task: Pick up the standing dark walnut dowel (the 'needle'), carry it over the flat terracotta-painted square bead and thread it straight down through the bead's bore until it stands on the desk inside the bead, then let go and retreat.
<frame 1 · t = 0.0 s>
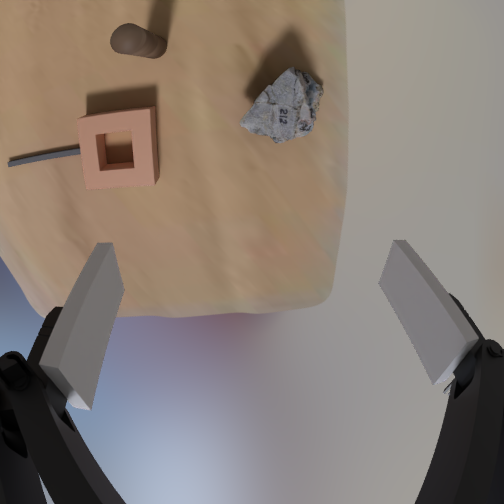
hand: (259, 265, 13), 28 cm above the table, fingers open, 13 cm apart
dowel: (155, 47, 28), on the table
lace: (45, 156, 34), on the table
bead: (121, 145, 35), on the table
mineral specimen: (280, 104, 35), on the table
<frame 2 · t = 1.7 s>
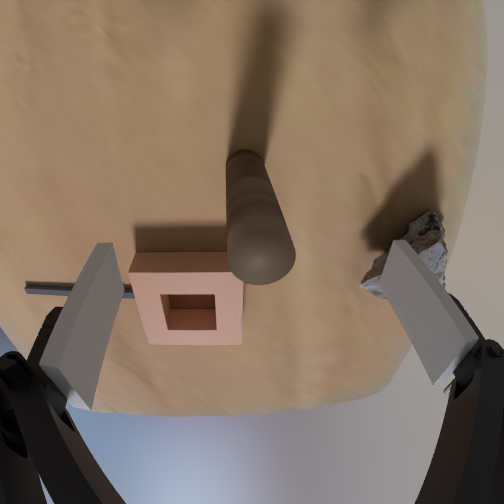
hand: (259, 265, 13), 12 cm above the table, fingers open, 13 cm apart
dowel: (244, 167, 23), on the table
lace: (79, 290, 29), on the table
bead: (191, 292, 30), on the table
mineral specimen: (396, 244, 29), on the table
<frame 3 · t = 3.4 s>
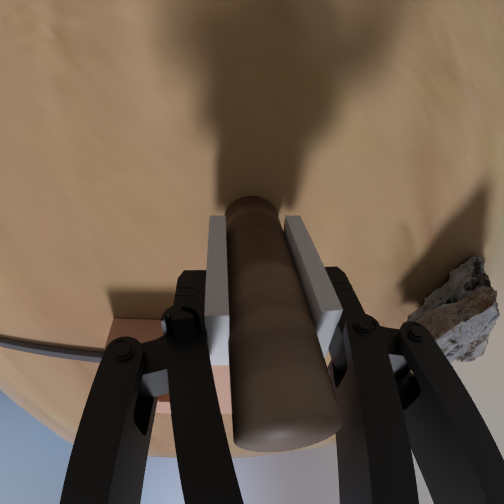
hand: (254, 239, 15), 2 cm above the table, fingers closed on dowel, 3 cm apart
dowel: (251, 220, 17), on the table, touching gripper
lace: (55, 349, 22), on the table
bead: (185, 359, 24), on the table
mineral specimen: (432, 293, 23), on the table
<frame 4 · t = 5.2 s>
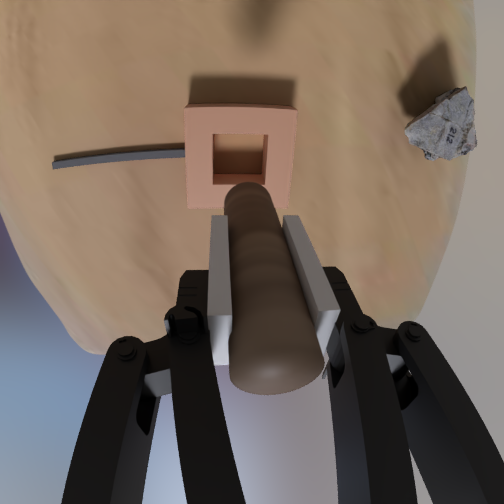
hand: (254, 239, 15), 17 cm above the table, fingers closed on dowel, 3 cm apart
dowel: (247, 204, 19), point 13 cm above the table, touching gripper
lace: (115, 156, 28), on the table
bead: (238, 151, 29), on the table
mineral specimen: (426, 117, 28), on the table
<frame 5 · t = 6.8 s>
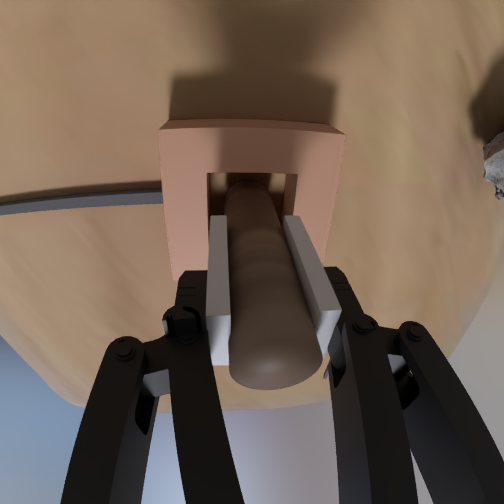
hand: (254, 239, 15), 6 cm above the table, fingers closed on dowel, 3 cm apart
dowel: (247, 202, 19), point 1 cm above the table, touching gripper
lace: (69, 200, 18), on the table
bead: (247, 192, 20), on the table
mineral specimen: (494, 140, 18), on the table
when the fingers open (4 cm above the table, at t = 7.2 s): dowel stays where it is, resting in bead.
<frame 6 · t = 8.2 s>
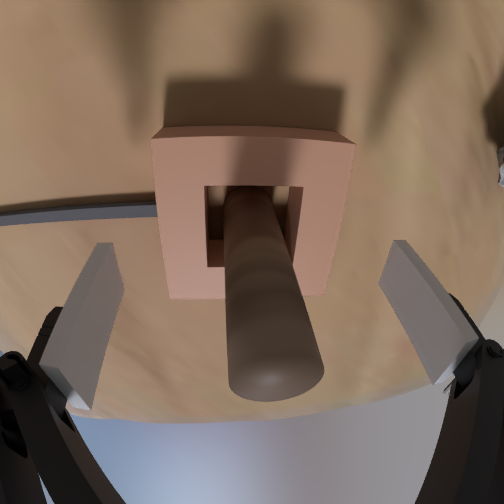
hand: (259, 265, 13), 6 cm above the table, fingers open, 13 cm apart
dowel: (247, 207, 18), resting in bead
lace: (60, 212, 17), on the table
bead: (248, 205, 18), on the table
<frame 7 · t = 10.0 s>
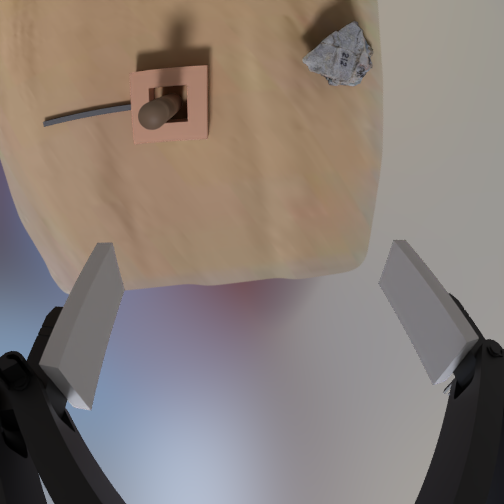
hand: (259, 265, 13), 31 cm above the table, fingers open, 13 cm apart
dowel: (171, 103, 36), resting in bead
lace: (87, 114, 35), on the table
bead: (171, 102, 36), on the table
mineral specimen: (334, 56, 34), on the table
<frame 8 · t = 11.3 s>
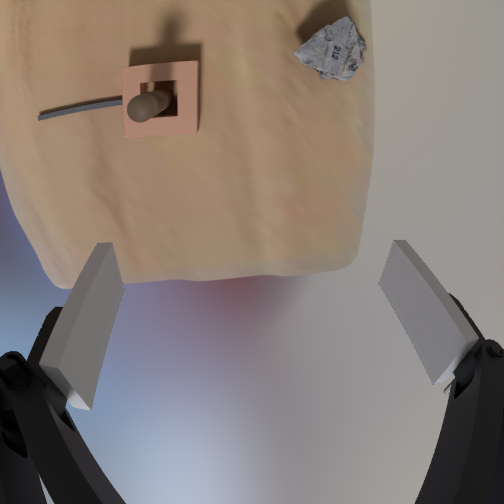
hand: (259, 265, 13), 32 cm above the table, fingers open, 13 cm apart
dowel: (163, 98, 36), resting in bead
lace: (80, 108, 34), on the table
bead: (163, 97, 36), on the table
mineral specimen: (327, 51, 34), on the table
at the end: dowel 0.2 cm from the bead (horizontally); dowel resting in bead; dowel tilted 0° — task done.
